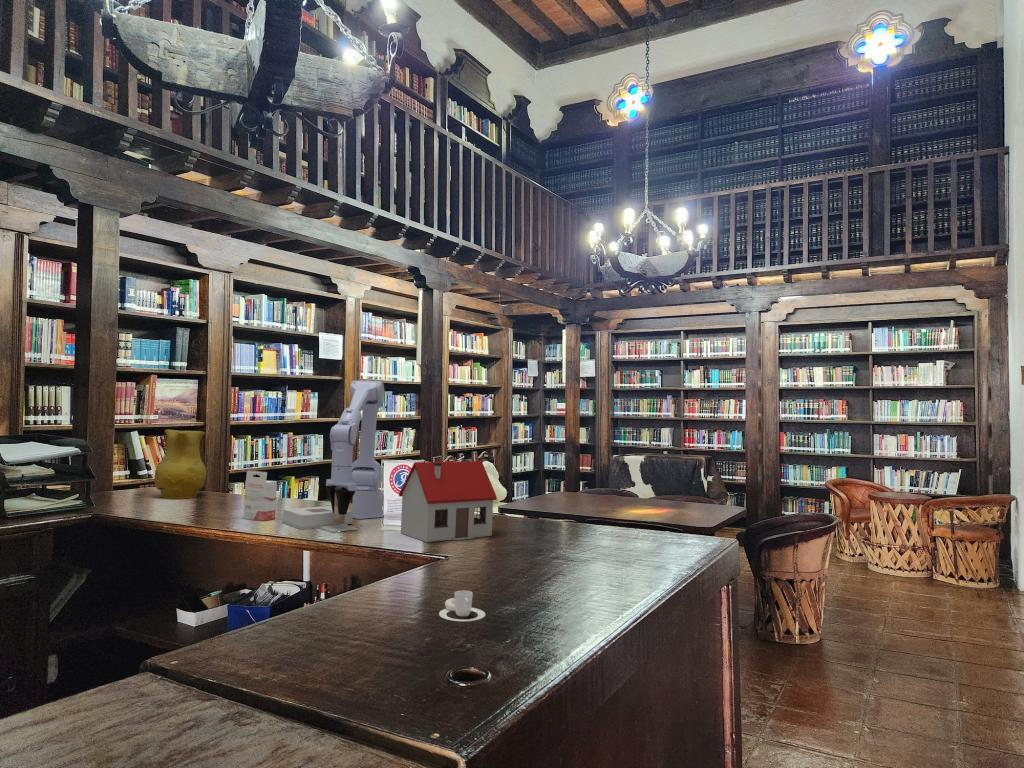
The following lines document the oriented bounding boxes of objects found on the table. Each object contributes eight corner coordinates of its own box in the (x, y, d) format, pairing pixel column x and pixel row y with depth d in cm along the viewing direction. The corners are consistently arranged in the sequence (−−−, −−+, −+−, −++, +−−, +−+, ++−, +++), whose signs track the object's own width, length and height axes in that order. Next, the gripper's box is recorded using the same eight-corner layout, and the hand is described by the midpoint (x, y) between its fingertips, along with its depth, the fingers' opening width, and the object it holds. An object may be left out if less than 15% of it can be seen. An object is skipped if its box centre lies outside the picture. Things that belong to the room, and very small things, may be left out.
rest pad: (344, 526, 194) (344, 524, 194) (358, 530, 188) (358, 528, 188) (319, 528, 188) (319, 526, 188) (332, 532, 182) (332, 531, 183)
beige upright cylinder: (342, 521, 190) (343, 487, 191) (346, 523, 188) (347, 488, 188) (332, 522, 188) (333, 487, 189) (335, 523, 186) (337, 488, 187)
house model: (472, 527, 201) (475, 459, 202) (501, 539, 183) (504, 464, 184) (393, 531, 189) (396, 458, 190) (415, 544, 172) (419, 464, 172)
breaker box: (331, 518, 206) (332, 505, 206) (352, 524, 197) (352, 511, 197) (282, 522, 195) (283, 509, 196) (301, 529, 186) (302, 515, 186)
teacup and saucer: (442, 607, 118) (443, 584, 118) (487, 609, 117) (487, 586, 118) (435, 623, 109) (436, 598, 109) (483, 625, 109) (484, 600, 109)
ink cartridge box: (276, 519, 201) (278, 471, 202) (264, 521, 197) (267, 472, 198) (254, 516, 205) (257, 469, 205) (242, 518, 200) (245, 470, 201)
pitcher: (140, 497, 235) (149, 427, 237) (175, 494, 253) (183, 429, 256) (183, 501, 232) (192, 430, 234) (215, 498, 250) (223, 432, 253)
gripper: (317, 464, 192) (315, 511, 191) (341, 468, 181) (338, 518, 180) (339, 463, 196) (337, 509, 196) (364, 467, 186) (361, 516, 185)
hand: (339, 513), depth 188 cm, fingers closed on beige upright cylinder, 3 cm apart
